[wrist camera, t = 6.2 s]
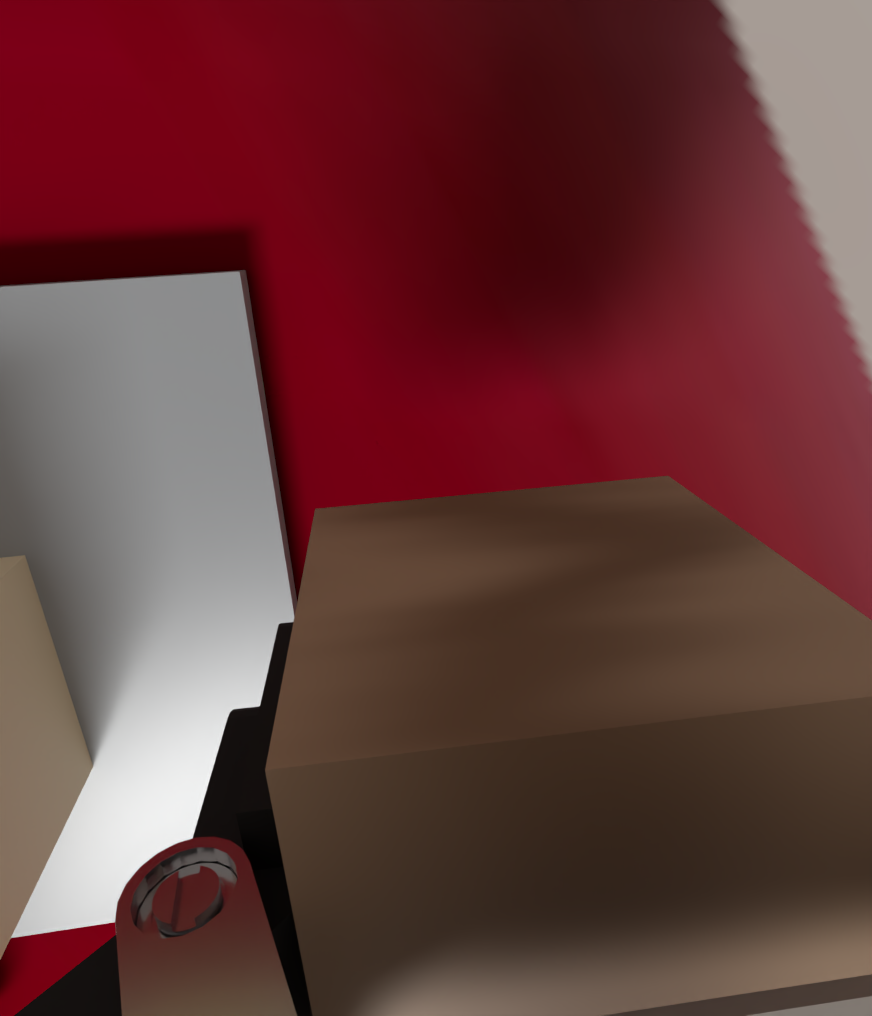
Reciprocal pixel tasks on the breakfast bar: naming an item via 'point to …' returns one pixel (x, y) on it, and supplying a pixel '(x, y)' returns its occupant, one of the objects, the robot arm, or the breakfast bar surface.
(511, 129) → the breakfast bar surface
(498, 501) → the walnut cube
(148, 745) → the base plate
